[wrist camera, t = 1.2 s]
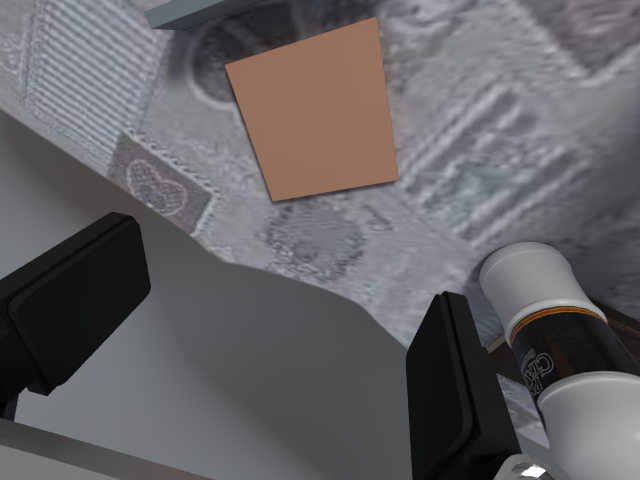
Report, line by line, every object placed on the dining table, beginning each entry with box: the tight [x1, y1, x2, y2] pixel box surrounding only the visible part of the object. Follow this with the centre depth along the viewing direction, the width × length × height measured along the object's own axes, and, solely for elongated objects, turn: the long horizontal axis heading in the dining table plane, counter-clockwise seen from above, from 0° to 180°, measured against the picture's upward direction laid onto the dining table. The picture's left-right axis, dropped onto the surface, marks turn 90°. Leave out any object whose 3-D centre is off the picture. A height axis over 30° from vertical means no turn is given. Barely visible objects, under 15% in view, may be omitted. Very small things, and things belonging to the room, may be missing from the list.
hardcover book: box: [486, 297, 640, 386], centre depth 43 cm, size 16×23×2 cm
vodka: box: [479, 241, 640, 480], centre depth 26 cm, size 9×9×30 cm
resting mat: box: [225, 17, 399, 201], centre depth 33 cm, size 15×15×1 cm
